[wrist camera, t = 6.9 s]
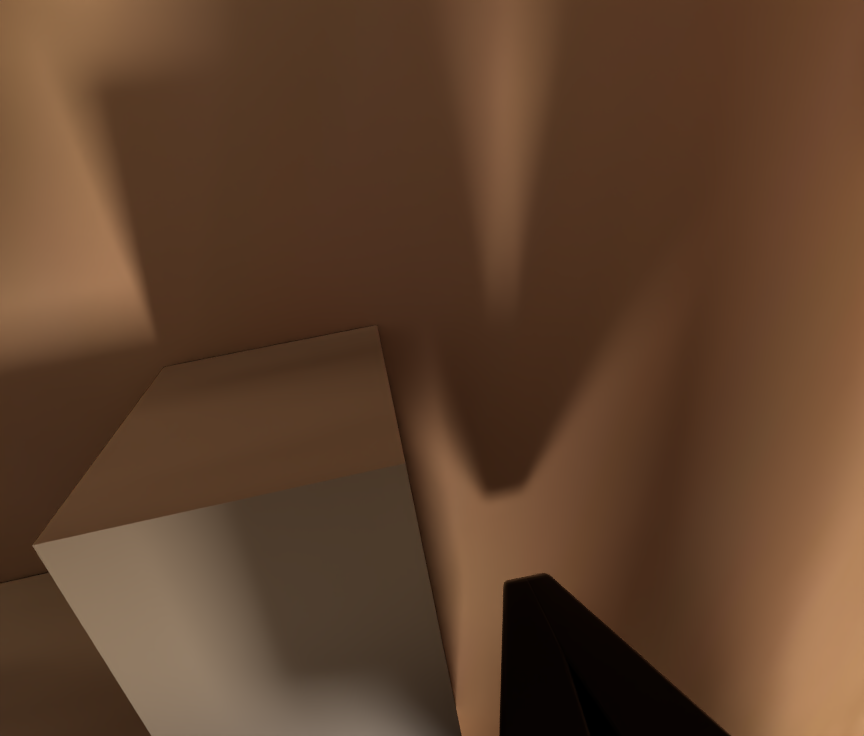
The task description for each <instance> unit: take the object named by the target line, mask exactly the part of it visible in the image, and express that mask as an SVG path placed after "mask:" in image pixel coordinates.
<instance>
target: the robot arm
mask: <svg viewBox="0 0 864 736" xmlns="http://www.w3.org/2000/svg"><path fill="white" fill-rule="evenodd" d="M499 736H731V735H730V734H728V733H727V732H726V731H725V730H724V729H723V728H722V727H721V726H719V725H718V724H717V723H716V722H715V721H714V720H713V719H712V718H710V717H709V716H708V715H707V714H706V713H705V712H704V711H703V710H701V709H700V708H699V707H698V706H697V705H696V704H695V703H693V702H692V701H691V700H690V699H689V698H688V697H687V696H686V695H684V694H683V693H682V692H681V691H680V690H679V689H678V688H677V687H675V686H674V685H673V684H672V683H671V682H670V681H669V680H668V679H666V678H665V677H664V676H663V675H662V674H661V673H660V672H658V671H657V670H656V669H655V668H654V667H653V666H652V665H651V664H649V663H648V662H647V661H646V660H645V659H644V658H643V657H642V656H640V655H639V654H638V653H637V652H636V651H635V650H634V649H633V648H631V647H630V646H629V645H628V644H627V643H626V642H625V641H623V640H622V639H621V638H620V637H619V636H618V635H617V634H616V633H614V632H613V631H612V630H611V629H610V628H609V627H608V626H607V625H605V624H604V623H603V622H602V621H601V620H600V619H599V618H597V617H596V616H595V615H594V614H593V613H592V612H591V611H590V610H588V609H587V608H586V607H585V606H584V605H583V604H582V603H581V602H579V601H578V600H577V599H576V598H575V597H574V596H573V595H572V594H570V593H569V592H568V591H567V590H566V589H565V588H564V587H562V586H561V585H560V584H559V583H558V582H557V581H556V580H555V579H553V578H552V577H551V576H550V575H548V574H546V573H541V574H536V575H531V576H526V577H521V578H516V579H512V580H507V581H505V582H504V586H503V621H502V659H501V697H500V735H499Z"/></svg>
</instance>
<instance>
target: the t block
mask: <svg viewBox="0 0 864 736" xmlns="http://www.w3.org/2000/svg"><path fill="white" fill-rule="evenodd" d="M32 546H33V547H34V549H35V551H36V552H37V554H38V555H39V557H40V559H41V560H42V562H43V563H44V565H45V567H46V568H47V570H48V571H49V573H45V574H41V575H36V576H32V577H28V578H23V579H19V580H14V581H10V582H5V583H1V584H0V736H461V731H460V726H459V721H458V716H457V711H456V706H455V702H454V697H453V692H452V687H451V682H450V677H449V672H448V668H447V663H446V658H445V653H444V648H443V643H442V638H441V634H440V629H439V624H438V619H437V614H436V609H435V604H434V600H433V595H432V590H431V585H430V580H429V575H428V570H427V566H426V561H425V556H424V551H423V546H422V541H421V536H420V532H419V527H418V522H417V517H416V512H415V507H414V502H413V498H412V493H411V488H410V483H409V478H408V473H407V468H406V464H405V459H404V454H403V449H402V444H401V439H400V434H399V430H398V425H397V420H396V415H395V410H394V405H393V400H392V396H391V391H390V386H389V381H388V376H387V371H386V366H385V362H384V357H383V352H382V347H381V342H380V337H379V332H378V328H377V325H375V326H370V327H365V328H360V329H354V330H349V331H344V332H339V333H334V334H329V335H324V336H319V337H314V338H309V339H304V340H299V341H294V342H288V343H283V344H278V345H273V346H268V347H263V348H258V349H253V350H248V351H243V352H238V353H233V354H227V355H222V356H217V357H212V358H207V359H202V360H197V361H192V362H187V363H182V364H177V365H172V366H167V367H163V369H162V370H161V371H160V373H159V374H158V375H157V377H156V378H155V380H154V381H153V382H152V384H151V385H150V386H149V388H148V389H147V390H146V392H145V393H144V394H143V396H142V397H141V399H140V400H139V401H138V403H137V404H136V405H135V407H134V408H133V409H132V411H131V412H130V413H129V415H128V416H127V418H126V419H125V420H124V422H123V423H122V424H121V426H120V427H119V428H118V430H117V431H116V432H115V434H114V435H113V437H112V438H111V439H110V441H109V442H108V443H107V445H106V446H105V447H104V449H103V450H102V451H101V453H100V454H99V455H98V457H97V458H96V460H95V461H94V462H93V464H92V465H91V466H90V468H89V469H88V470H87V472H86V473H85V474H84V476H83V477H82V479H81V480H80V481H79V483H78V484H77V485H76V487H75V488H74V489H73V491H72V492H71V493H70V495H69V496H68V498H67V499H66V500H65V502H64V503H63V504H62V506H61V507H60V508H59V510H58V511H57V512H56V514H55V515H54V517H53V518H52V519H51V521H50V522H49V523H48V525H47V526H46V527H45V529H44V530H43V531H42V533H41V534H40V536H39V537H38V538H37V540H36V541H35V542H34V544H33V545H32Z"/></svg>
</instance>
